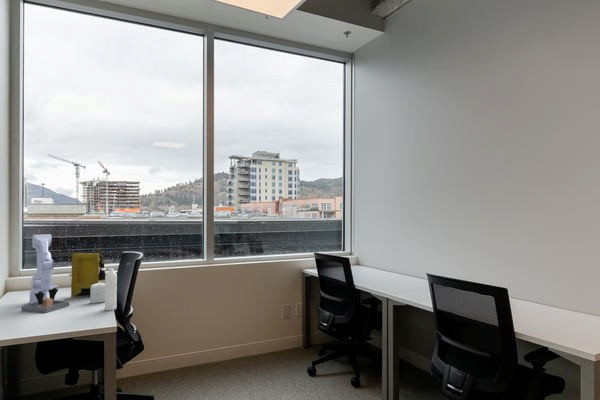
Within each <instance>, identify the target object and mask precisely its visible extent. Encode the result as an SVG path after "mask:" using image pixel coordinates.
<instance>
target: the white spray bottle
mask: <svg viewBox="0 0 600 400" xmlns="http://www.w3.org/2000/svg"><path fill="white" fill-rule="evenodd" d="M101 270H105V271H106V270H107V269H106V268H105V267H104V268H102V269H101ZM105 274H106V276H105V280H104V283H105V302H104V310H105V311H113V310H114V311H115V310H117V306H118V305H117V300H118V299H117V297H118V296H117V291H118V288H117V287H118V286H117V285H118V284H117V283H118V274H117V273H116V271H115V270H114V267H108V271H107V273H105Z"/></svg>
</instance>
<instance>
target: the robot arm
mask: <svg viewBox="0 0 600 400" xmlns="http://www.w3.org/2000/svg"><path fill="white" fill-rule="evenodd" d="M31 241H32V242H31V243H32V244H31V246H32V248H33V249H35V252H36V274H34V275H33V276H32V277H31V281H30V282H31V285H30V287H31V290H30V291H29V301H28V302H27V304H31V303H34V302H38V304H43V299H45V298H48V295H49V298H50V299H53V301H54V300H55V297H56V295H57V293H58V292H59V285H58V284H57V285H53V272H54V271H53V270H54V268H55V262H54V259H52V254H51V252H50V251H49V247H50V246H51V243H52V235H51V234H50V233H49V234H48V233H47V234H33V235H32V240H31Z"/></svg>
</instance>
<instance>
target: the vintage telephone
mask: <svg viewBox="0 0 600 400" xmlns="http://www.w3.org/2000/svg"><path fill="white" fill-rule="evenodd" d="M104 257H106V258H104ZM106 259H107V260H109V259H108V257H107V256H106V255H103V257H102V258H100V254H99V253H72V255H71V274H70V273H69V274H68V276H69V277H71V286H70V289H71V290H70V298H73V297H74V296H75V297H78V296H80V295H83V294H90V289H91V285H93V284H97V283H100V281H101V282H102V281H105V276H106V274H107V273H106V270H101V269H102V268H105V263H106V262H107V261H106ZM79 294H80V295H79Z"/></svg>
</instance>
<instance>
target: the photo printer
mask: <svg viewBox="0 0 600 400" xmlns="http://www.w3.org/2000/svg"><path fill="white" fill-rule="evenodd" d="M89 294H90V296H89V297H90V298H89V303H90V304H97V303H98V304H99V303H105V282H99V283H97V284H93V285H91V289H90V293H89Z"/></svg>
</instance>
